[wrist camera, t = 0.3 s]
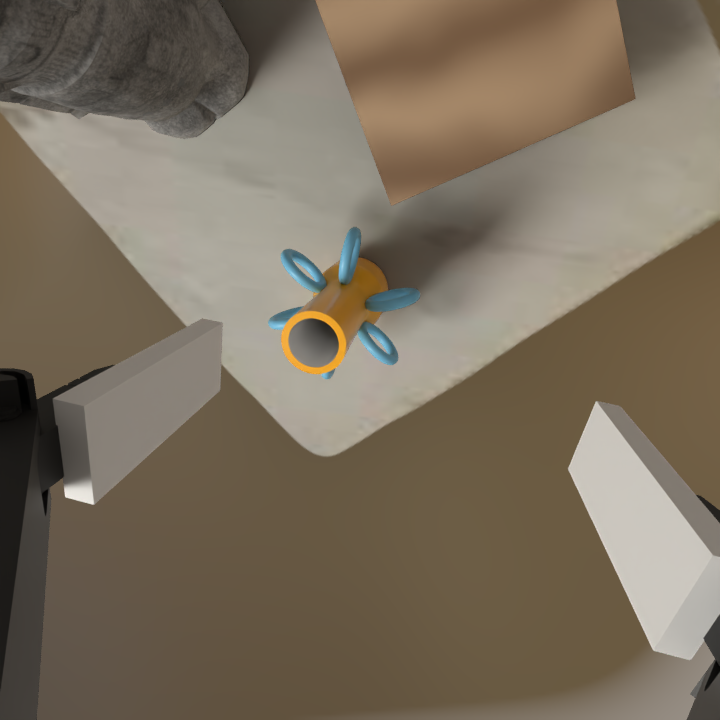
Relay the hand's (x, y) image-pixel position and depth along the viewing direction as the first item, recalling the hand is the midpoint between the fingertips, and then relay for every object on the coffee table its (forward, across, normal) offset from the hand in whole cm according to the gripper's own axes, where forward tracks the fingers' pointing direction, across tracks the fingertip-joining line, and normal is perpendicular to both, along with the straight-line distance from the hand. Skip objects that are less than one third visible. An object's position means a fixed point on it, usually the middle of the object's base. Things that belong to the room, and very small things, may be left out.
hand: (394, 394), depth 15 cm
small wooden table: (+25, 0, +16) cm, 29 cm away
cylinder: (+25, -6, -3) cm, 26 cm away
